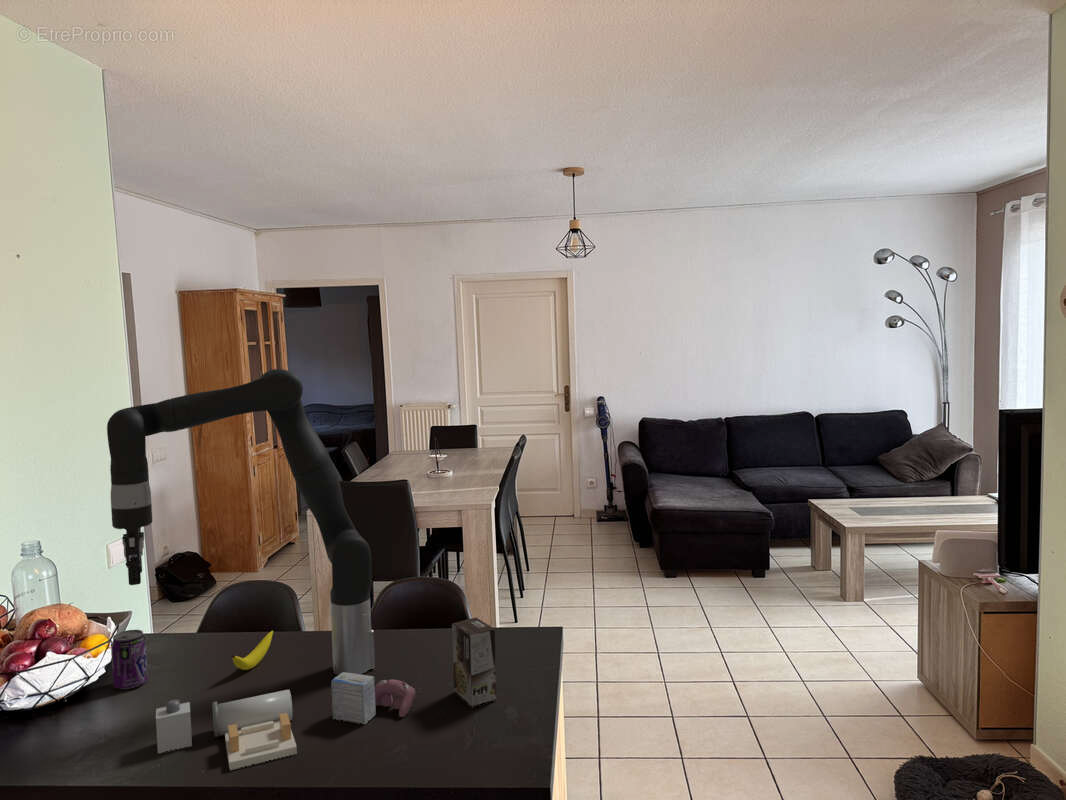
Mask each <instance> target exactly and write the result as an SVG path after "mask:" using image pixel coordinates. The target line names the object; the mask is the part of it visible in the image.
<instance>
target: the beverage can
mask: <svg viewBox="0 0 1066 800" xmlns="http://www.w3.org/2000/svg"><path fill="white" fill-rule="evenodd" d="M146 640H147V639H146V637H145V636H144V631H143V630H141V629H128V630H124V631H120V632H118V633H116V634H114V635H112V642H111V644H110V650H111V651H110V652H111V669H112V683H113V684H112V685H113V687H114V688H116V689H119V690H131V688H132V689H136V688H138V687H140V686H141V685H143V684H144V683H146V682H147V681H148V678H149V675H148V673H149V672H148V659H147V658H148V657H147V641H146ZM135 687H136V688H135Z"/></svg>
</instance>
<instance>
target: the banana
mask: <svg viewBox="0 0 1066 800" xmlns="http://www.w3.org/2000/svg"><path fill="white" fill-rule="evenodd" d="M273 634H274V630H271V631H270V632H268V633H267V634H266V635H265V636H264V638H262V640H261V641H260V642H259V643H258V644H257V645H256V646H255V648H254V649H253V650H252V651H251V652H249V654H248V655H246V656H245V657H240V656H237V655H235V654H232V655H231V658H232V661H233V662H232V663H233V664H234V666H235V667H236V668H239V669H240V670H243V671H248V670H250V669H254V667H256V666H258V664H260V662H261V660H262V659H264V657H265V655H266V654H267V652H268V651H269V649H270V646H271V642H272V638H273Z"/></svg>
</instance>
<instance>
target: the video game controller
mask: <svg viewBox="0 0 1066 800" xmlns="http://www.w3.org/2000/svg"><path fill="white" fill-rule="evenodd" d="M374 687H375V707H377V705H378V704H379V702H380V700H381V705H382V706H383V707H387V708H389V707H388V706H390V707H391V706H393V707H394V709H395V710H397V709H399V710H398V716H399V718H400V717H403V718H405V716H407V714H408V713H409V711H410V709H411V706H412V703H413V701H414V700H415V698H416V690H415V688H413V686H410V685H409V684H408V683H407V682H404V681H402V680H401V679H400V680H399V679H392V678H391V679H384V680H380V681H379V682H378V683H376V685H374ZM393 695H395V696H397V697H396V699H393Z"/></svg>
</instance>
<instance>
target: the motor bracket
mask: <svg viewBox="0 0 1066 800" xmlns="http://www.w3.org/2000/svg"><path fill="white" fill-rule="evenodd" d="M291 720H293V701H292V695H291V691H290V689H285V690H280V691H275V692H269V693H265V694H260V695H256V696H251V697H250V696H249V697H245V698H241V699H236V700H232V701H228V702H226V701H225V702H222V703H218V701H213V702H212V721H213V732H214V734H213V735H214V738H215V737H216V738H217V737H221V736H224V741H225V749H226V755H227V763H228V768H229V769H230V770H229V771H233V770H237V769H242V768H245V766H246V767H251V766H253V765H252V764H254V765H257V764H258V765H259V764H262V763H266V761H267V762H270V761H269V760H271V761H273V760H274V759H275V760H278V758H279V759H282V757H283V758H286V756H287V757H291V756H295V755H297V754H298V748H297V743H296V740H295V737H294V735H293V731H292V728H291V727H292V724H291V722H290V721H291ZM294 754H295V755H294ZM290 755H291V756H290ZM275 760H274V761H275ZM241 767H242V768H241Z"/></svg>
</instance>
